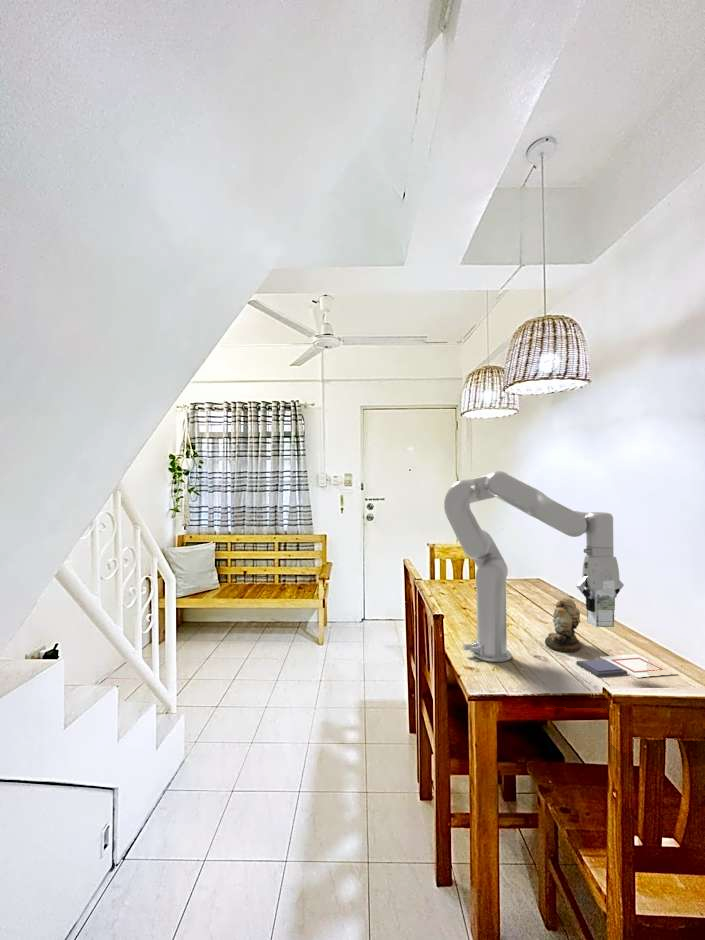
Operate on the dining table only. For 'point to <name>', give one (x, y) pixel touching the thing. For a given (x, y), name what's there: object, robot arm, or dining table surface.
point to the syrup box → (603, 606)
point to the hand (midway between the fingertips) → (600, 609)
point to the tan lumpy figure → (564, 627)
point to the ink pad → (601, 667)
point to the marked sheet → (631, 664)
